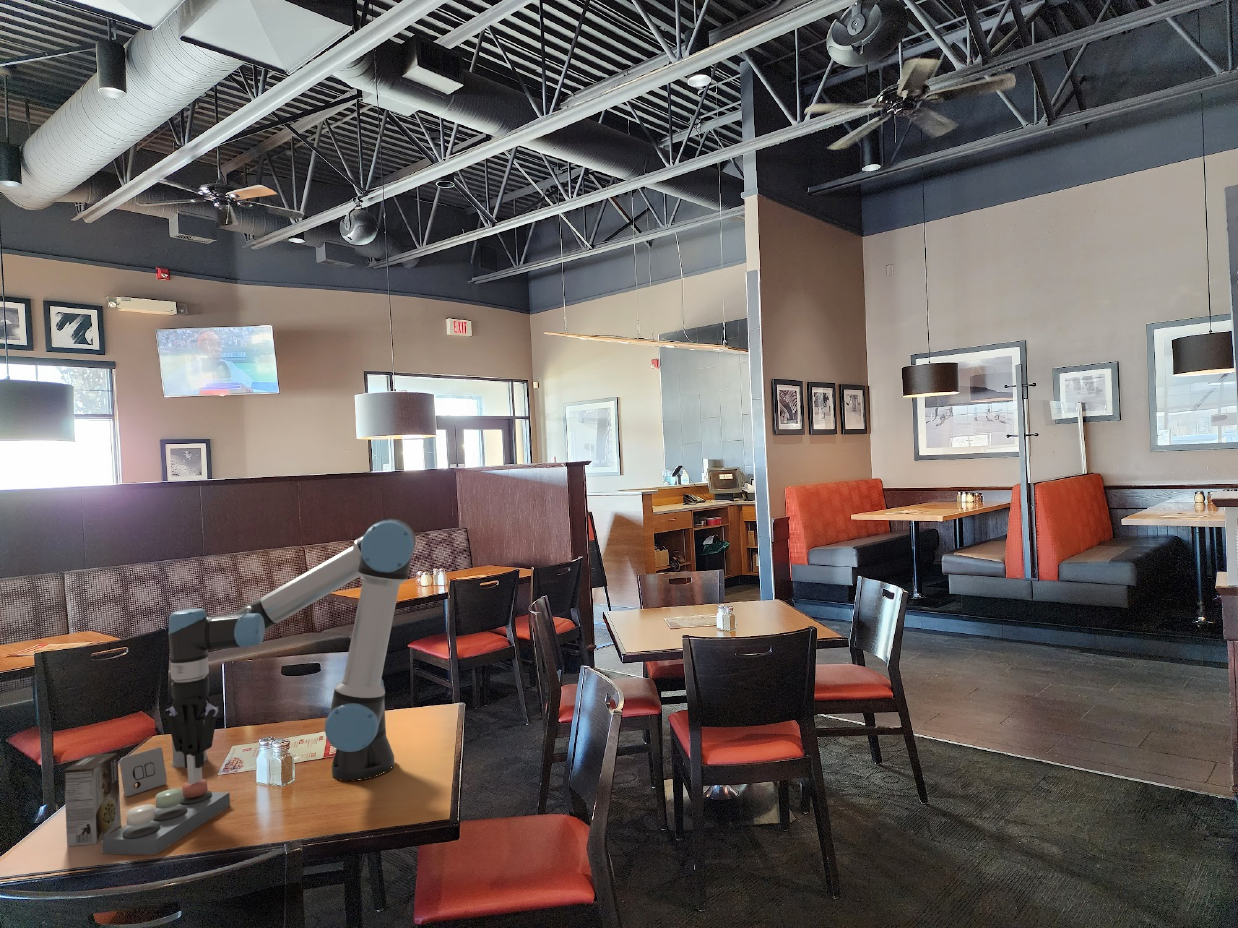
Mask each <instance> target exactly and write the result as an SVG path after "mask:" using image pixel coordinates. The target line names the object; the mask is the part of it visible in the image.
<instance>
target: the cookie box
mask: <svg viewBox="0 0 1238 928" xmlns="http://www.w3.org/2000/svg"><path fill="white" fill-rule="evenodd" d="M63 778H64V779H63V781H64V798H65V799H64V802H65V803H64V804H65V806H64V807H65V823H66V824H65V828H66V846H67V847H74V846H75V847H77V846H78V845H79V846H87V845H88V846H90V845H98V844H99V843H101V842H102V839H103V838H105V837H106V836H108V835H110V834H111V833H113V832H115V831H116V829H117V828H119V827H120V826H121V825H122V815H121V799H120V794H121V793H120V780H119V779H120V777H119V761H118V752H115V753H96V754H95V753H93V754H88V755H86V756H84V757H83V758H81V759H80V760H78V761H76V762H74V763H73V764H72V765H70V766H68V767H67V768H65V769H64V770H63Z"/></svg>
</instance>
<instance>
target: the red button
mask: <svg viewBox="0 0 1238 928" xmlns="http://www.w3.org/2000/svg"><path fill="white" fill-rule="evenodd" d="M181 788H182V789H181V790H182V794H183V797H184V798H192V797H197V796H200V795H203V794H205V793H206V792H207V791H209V790H208V779H205V778H202V780H200V781H199V782H197V783H195V784H188V781H187V782H185V783H183V784H182V786H181Z"/></svg>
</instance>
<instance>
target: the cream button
mask: <svg viewBox="0 0 1238 928" xmlns="http://www.w3.org/2000/svg"><path fill="white" fill-rule="evenodd" d="M155 808H156V805H154V804H153V803H152V804H150V803H149V804H141V805H137V806H135V807H132V808H130V809H128V810H127V811H126V825H129V826H137V825H142V824H145V823H148V822H150V821H152V820H153V819H154V818H155Z"/></svg>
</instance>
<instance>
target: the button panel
mask: <svg viewBox="0 0 1238 928" xmlns="http://www.w3.org/2000/svg"><path fill="white" fill-rule="evenodd" d="M230 794H231V793H230V792H228V791H225V792H224V791H222V792H221V791H214V792H213V791H211V790H208V791H207V792H206V793H205V794H203V795H200V796H197V797H192V798H184V797H183V794H182V799H183V801H182V802H181V803H180V804H178V805H176V806H173V807H170V808H164V809H159V808H156V807H155V818H154V819H153V820H152V821H150V822H148V823H145V824H142V825H137V826H129V825H127V824H125V825H124V826H122V827H120V828H118V829H117V830H114V831H112V832H111V833H110V834H109V835H108V836H106V837H105V838H103V839H102V840H101V842H102V843H101V844H102V854H103V855H133V856H134V855H137V856H141V855H142V856H143V855H144V856H157V855H158V854H160V853H161V852H163V851H164V850H165V849H167V848H168V847H170V846H171V845H173V844H174V843H176V842H178V841H179V840H180V839H182V838H184V837H185V836H186V835H188V834H189V833H191V832H192V831H194V830H195V829H197V828H198V827H200V826H202V825H203V824H204V823H206V822H207V821H209V820H211V819H212V818H213V817H215V816H216V815H218V814H219V813H221V812H223V811H224V810H225V809H226V808H228V807H230V806H231V800H230V799H231V797H230Z"/></svg>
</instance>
